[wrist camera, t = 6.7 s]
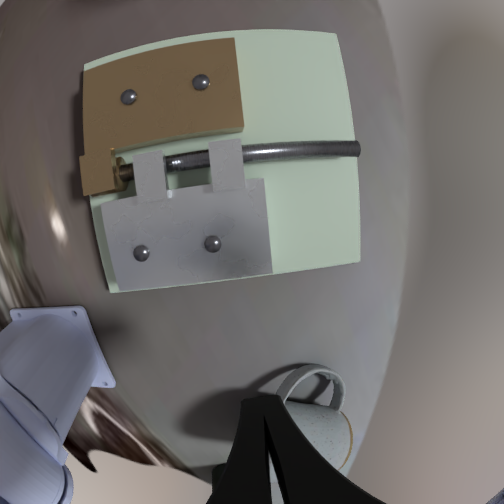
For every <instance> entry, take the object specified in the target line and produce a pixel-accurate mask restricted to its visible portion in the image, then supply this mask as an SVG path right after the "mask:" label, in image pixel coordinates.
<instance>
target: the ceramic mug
mask: <svg viewBox="0 0 504 504" xmlns="http://www.w3.org/2000/svg"><path fill="white" fill-rule="evenodd" d="M314 373H318V374H321V375H323V376H325V377H326V379H331V380H333V384H334V390H333V391H334V393H333V397H332V400H331V403H330V405H329V406H323V405H314V404H303V403H297V402H292V401H286V399H287V397H288V396H289V395H290V393H291V392H292V391H293V389H294V388H295V387H296V385H297V384H298V383H300V382H301V381H302V380H303V379H305V378H307V377H309V376H310V375H311V374H314ZM276 395H279V396H281V399H282V401H283V403H284V405H285V407H286V409H287V411H288V412H289V414H290V415H291V417H292V419H293V420H294V422H295V423H296V425H297V426H298V427H299V429H300V430H301V431H302V433H303V434H304V435H305V437H306V438H307V439H308V440H309V442H310V443H311V444H312V445H313V446H314V447H315V449H316V450H317V451H318V452H319V453H320V454H321V455H322V456H323V457H324V458H325V459H326V460H327V461H328V462H329V463H330V464H331V465H332V466H333V467H334V468H335V469H336V470H339V469H341V468H342V467H343V466H344V464H345V463H346V461H347V460H348V458H349V456H350V453H351V450H352V444H353V433H352V428H351V425H350V423H349V421H348V419H347V417H346V416H345V415H344V414H343V413H342V412H341V411H340V410H341V408H342V405H343V403H344V399H345V384H344V382H343V380H342V378H341V377H340V375H339V374H338V373H336V372H335V371H333V370H331V369H329V368H328V367H325V366H322V365H317V364H309V365H305V366H302V367H300V368H298V369H296V370H295V371H293V372H292V373H291V374H289V375H288V376H287V377H286V379H285V380H284V381H283V383H282V384H281V386H280V387H279V389H278V390H277V393H276ZM269 465H270V482H271V483H275V482H278V481H277V477H276V474H275V471H274V467H273V464H272V461H271V457H270V454H269Z"/></svg>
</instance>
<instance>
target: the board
mask: <svg viewBox="0 0 504 504" xmlns="http://www.w3.org/2000/svg"><path fill="white" fill-rule="evenodd" d="M232 37H234V38H235V47H236V55H237V64H238V73H239V82H240V91H241V100H242V109H243V118H244V129H243V132H238V133H229V134H220V135H212V136H205V137H198V138H191V139H185V140H179V141H173V142H168V143H162V144H157V145H152V146H148V147H143V148H138V149H134V150H130V151H125V152H121V153H117V154H115V158H116V157H122V158H123V159H124V160H125V162H126V164H128V163H132V162H133V159H132V156H133V155H138V154H142V153H147V152H152V151H157V150H164V151H165V156H167V155H173V154H179V153H185V152H191V151H198V150H205V149H208V142H212V141H220V140H228V139H238V138H241V145H248V144H259V143H272V142H289V141H316V140H355V137H354V128H353V120H352V113H351V106H350V100H349V93H348V87H347V82H346V76H345V71H344V66H343V61H342V57H341V52H340V48H339V43H338V39H337V35H336V34H333V33H325V32H315V31H302V30H275V29H264V30H237V31H224V32H214V33H206V34H198V35H191V36H185V37H179V38H174V39H169V40H164V41H159V42H155V43H151V44H147V45H143V46H139V47H135V48H132V49H128V50H125V51H122V52H118V53H115V54H112V55H109V56H106V57H103V58H100V59H98V60H95V61H92V62H90V63H87V64H85V65H84V71H86V70H88V69H91V68H94V67H96V66H99V65H102V64H105V63H108V62H111V61H114V60H117V59H120V58H124V57H127V56H130V55H134V54H138V53H142V52H145V51H150V50H154V49H158V48H163V47H167V46H172V45H178V44H183V43H189V42H196V41H203V40H211V39H221V38H232ZM83 79H84V78H83ZM83 134H84V133H83ZM84 151H85V150H84ZM243 164H244V173H245V179H252V178H264V184H265V194H266V204H267V214H268V225H269V236H270V247H271V259H272V270H273V274H280V273H287V272H294V271H301V270H308V269H315V268H322V267H329V266H335V265H342V264H348V263H355V262H360V202H359V183H358V168H357V157H326V158H302V159H286V160H272V161H260V162H250V163H243ZM167 177H168V185H169V190H170V189H176V188H183V187H189V186H196V185H203V184H210V183H212V176H211V167H207V168H200V169H193V170H187V171H180V172H174V173H168V174H167ZM136 195H137V192H136V185H135V180H132V181H129V183H128V188H127V189H126V191H122V192H117V193H112V194H108V195H103V196H99V197H92V196H91V195H89V196H90V203H91V209H92V215H93V221H94V226H95V232H96V237H97V241H98V246H99V250H100V255H101V259H102V263H103V267H104V271H105V275H106V279H107V282H108V286H109V290H110V293H116V292H127V291H119V288H118V284H117V281H116V277H115V273H114V269H113V265H112V261H111V256H110V252H109V248H108V243H107V238H106V233H105V228H104V222H103V217H102V211H101V205H100V203H104V202H108V201H111V200H116V199H121V198H126V197H131V196H136ZM273 274H266V275H273ZM258 276H265V275H258ZM258 276H250V277H258ZM250 277H243V278H250ZM235 279H242V278H235ZM227 280H234V279H227ZM219 281H226V280H219ZM210 282H218V281H210ZM210 282H202V283H210ZM193 284H201V283H193ZM193 284H185V285H193ZM176 286H184V285H176ZM166 287H175V286H166ZM166 287H157V288H166ZM148 289H156V288H148ZM138 290H147V289H138ZM128 291H137V290H128Z"/></svg>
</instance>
